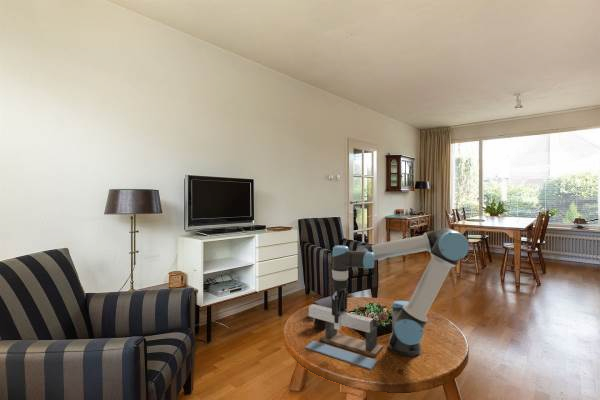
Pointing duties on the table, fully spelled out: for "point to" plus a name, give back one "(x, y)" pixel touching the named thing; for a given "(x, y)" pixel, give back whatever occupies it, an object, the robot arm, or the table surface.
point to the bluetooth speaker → (324, 302)
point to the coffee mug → (319, 324)
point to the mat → (342, 354)
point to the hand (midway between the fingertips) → (339, 327)
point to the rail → (342, 318)
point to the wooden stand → (353, 340)
